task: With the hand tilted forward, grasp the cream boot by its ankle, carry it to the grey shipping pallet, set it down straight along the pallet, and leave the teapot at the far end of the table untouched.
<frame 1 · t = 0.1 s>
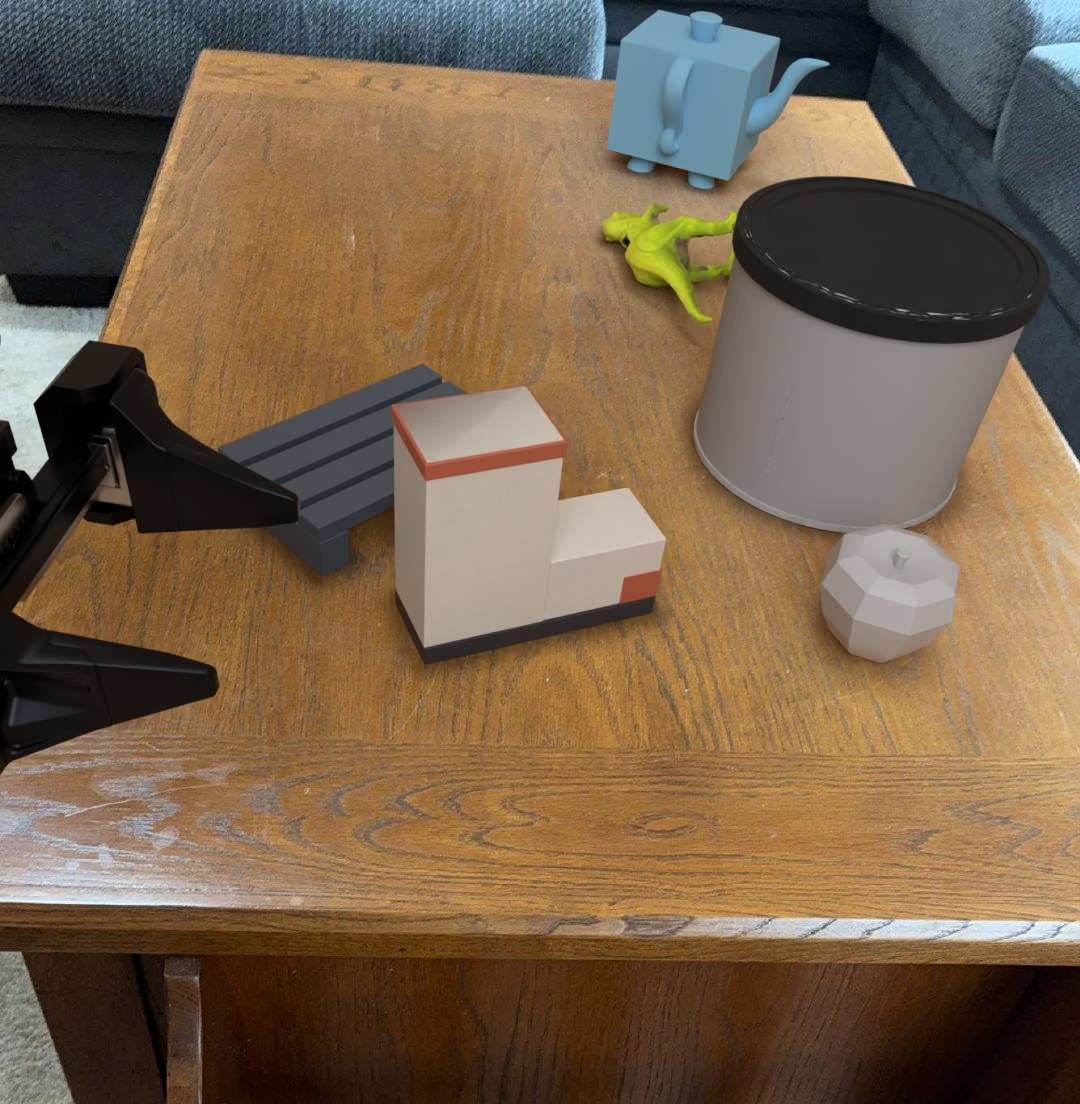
hand: (261, 588, 38), 17 cm above the table, tool horizontal, fingers open, 9 cm apart
apple: (865, 641, 65), on the table
dinosaur figurine: (660, 286, 92), on the table
teapot: (707, 173, 109), on the table
cream boot: (468, 620, 63), on the table
grey shipping pallet: (376, 485, 70), on the table
container: (822, 453, 78), on the table
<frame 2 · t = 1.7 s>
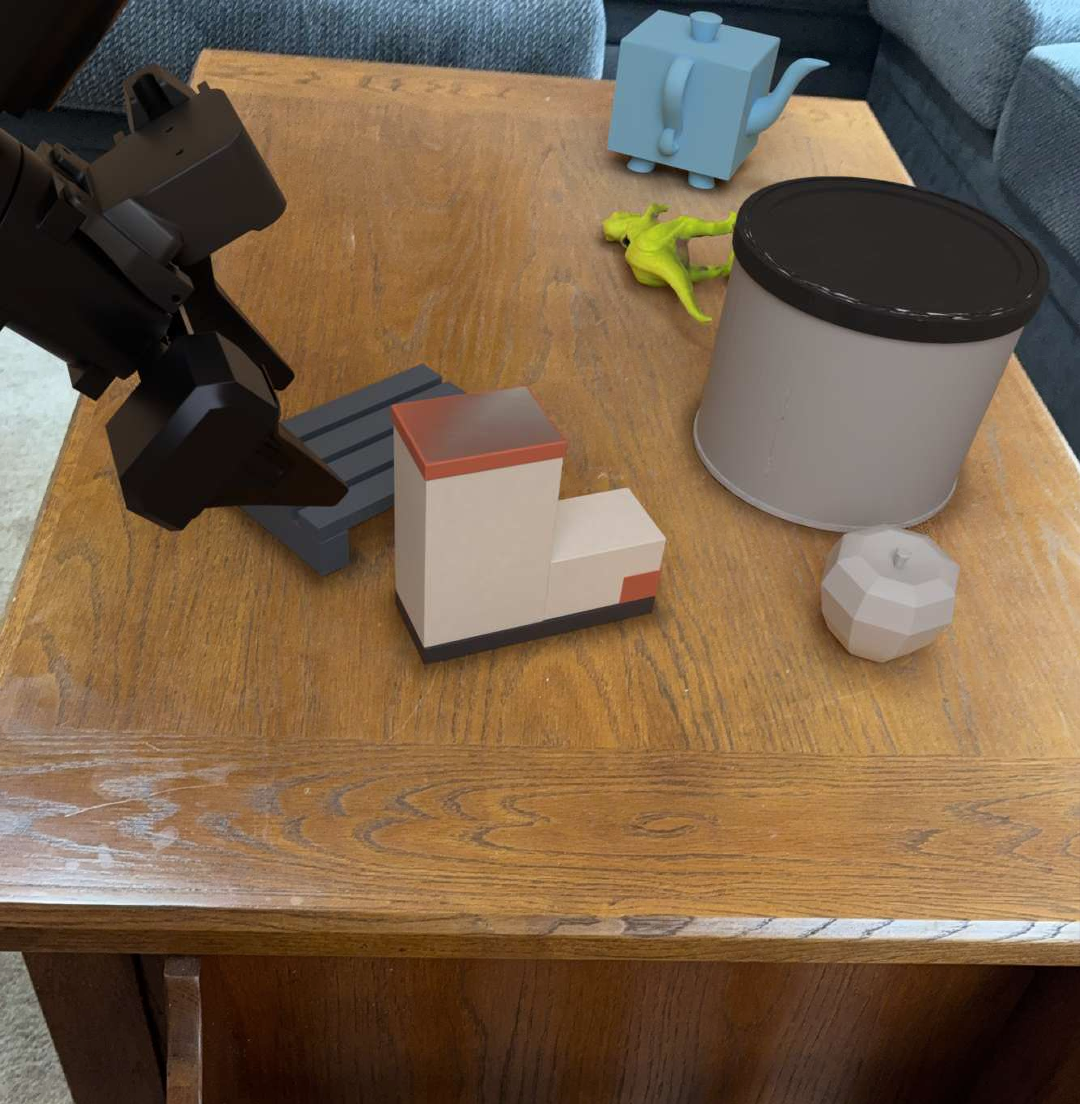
hand: (313, 436, 50), 14 cm above the table, tool tilted 45°, fingers open, 9 cm apart
nothing on the table moved.
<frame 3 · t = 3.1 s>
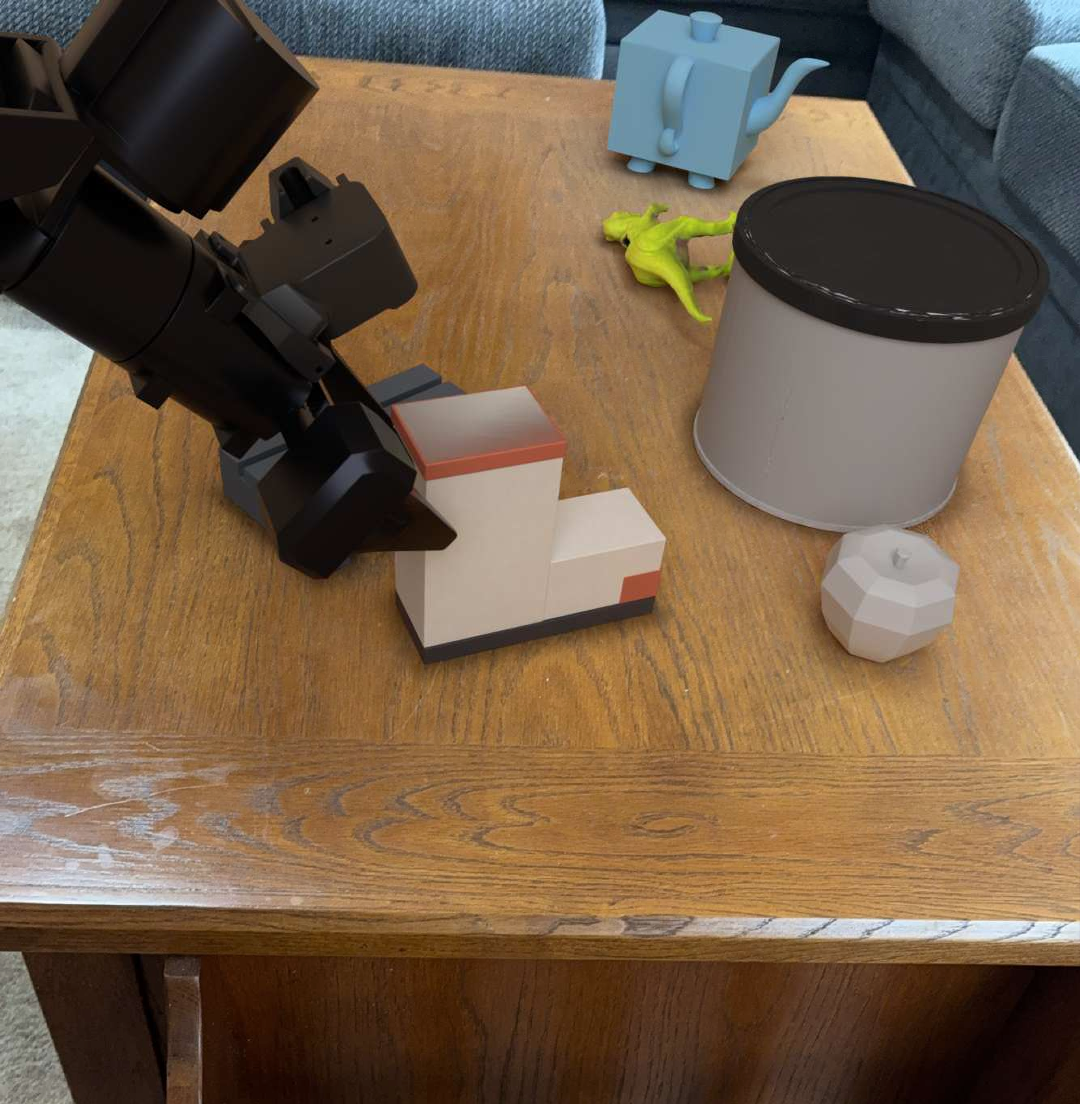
hand: (418, 484, 54), 10 cm above the table, tool tilted 45°, fingers open, 9 cm apart
nothing on the table moved.
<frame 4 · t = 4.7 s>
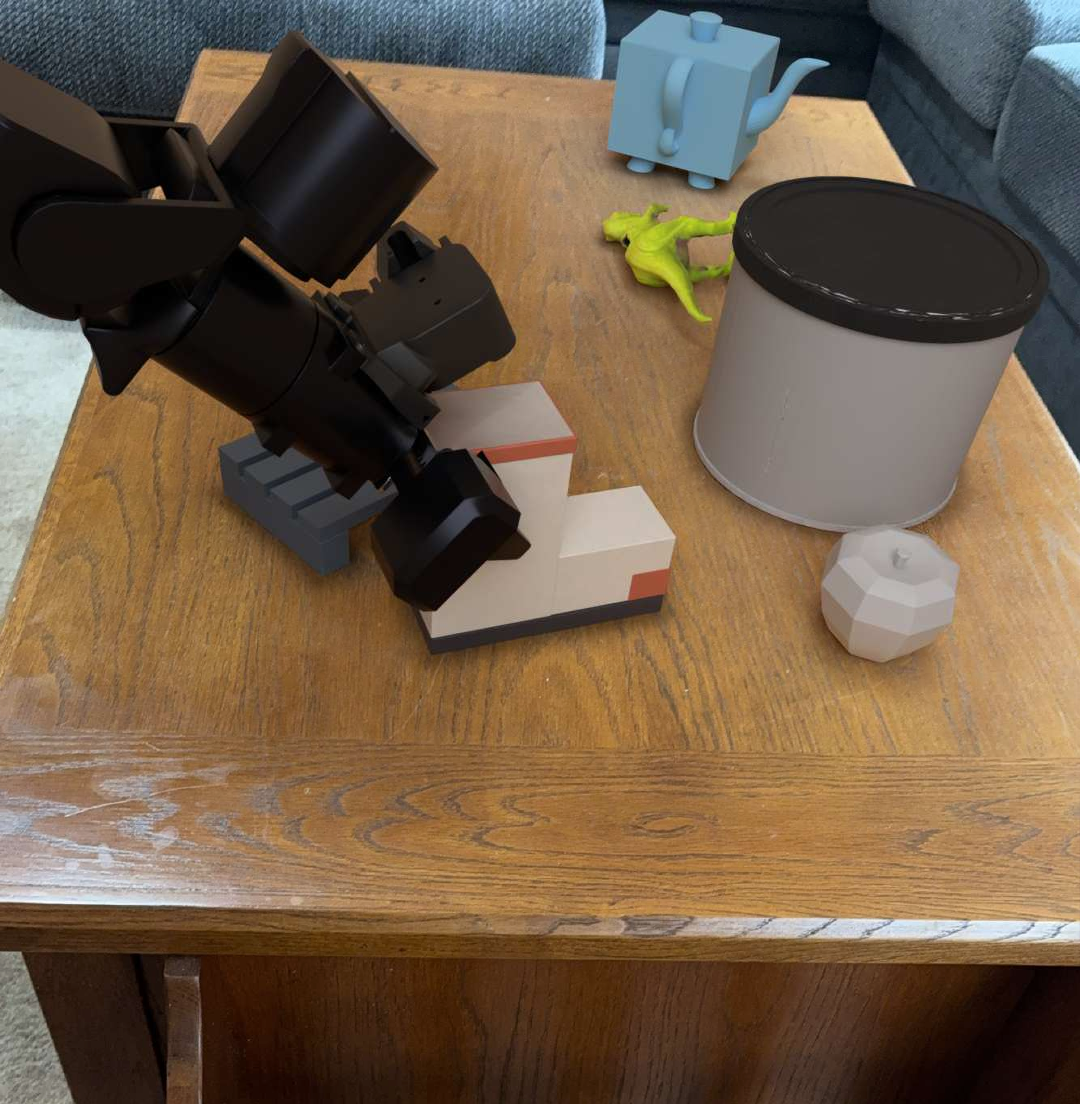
hand: (502, 515, 58), 7 cm above the table, tool tilted 45°, fingers closed on cream boot, 6 cm apart
cream boot: (477, 613, 63), on the table, touching gripper
everything else where it was.
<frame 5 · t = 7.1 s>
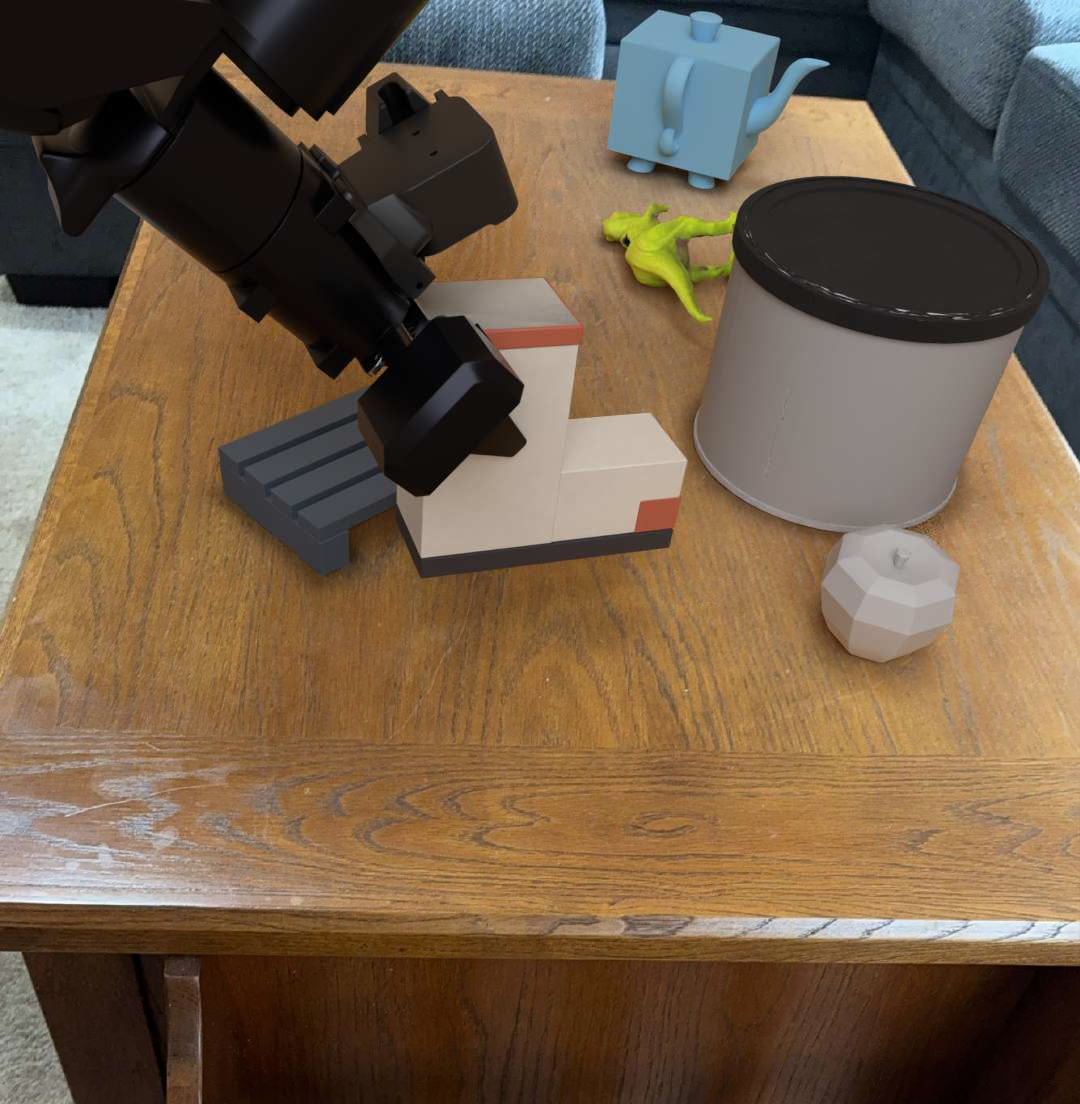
hand: (497, 417, 54), 13 cm above the table, tool tilted 45°, fingers closed on cream boot, 5 cm apart
cream boot: (471, 541, 59), point 6 cm above the table, touching gripper
everything else where it was.
when the fingers open (11 cm above the table, at t = 9.8 s): cream boot stays where it is, resting on grey shipping pallet.
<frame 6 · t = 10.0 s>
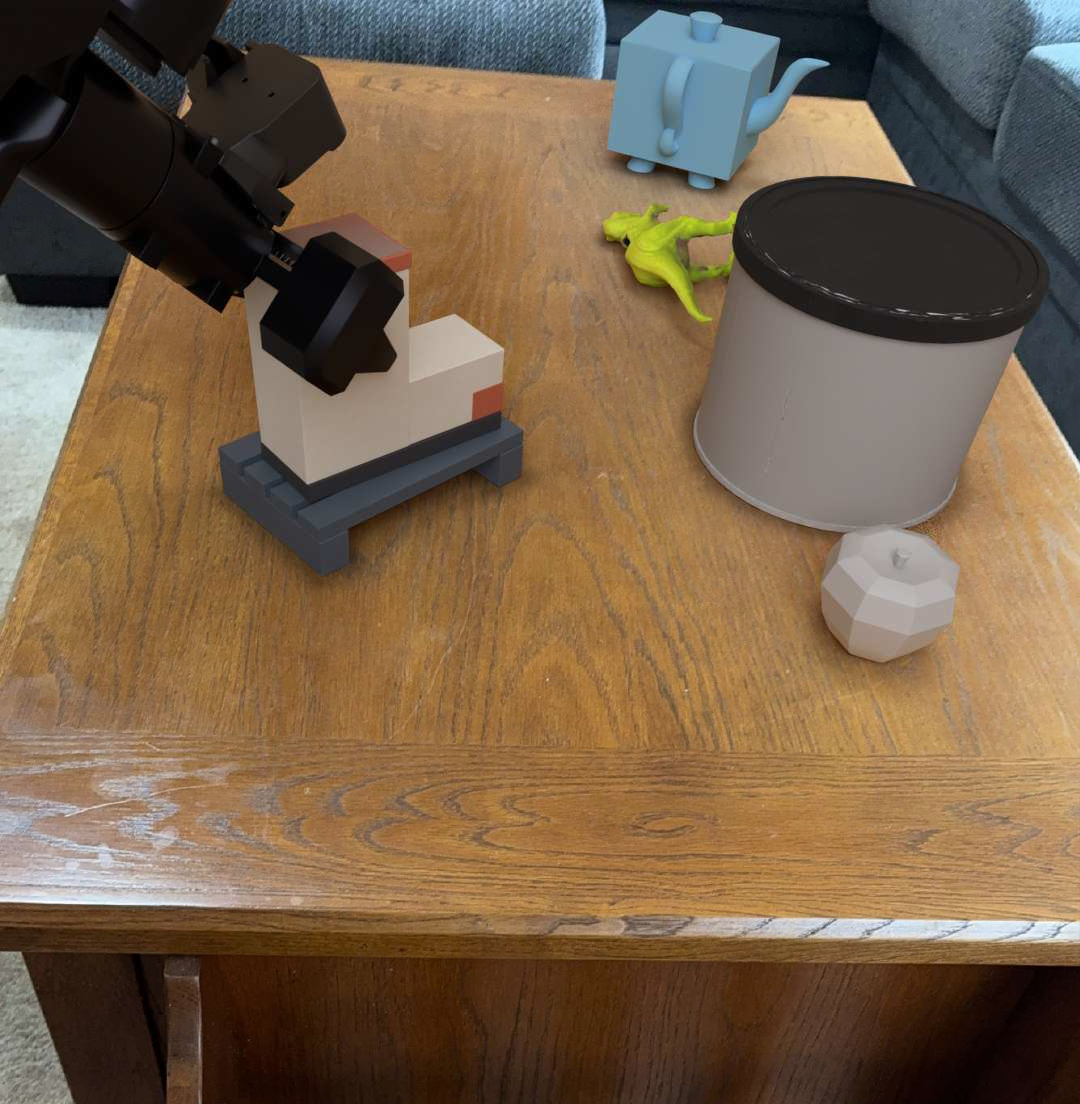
hand: (343, 330, 61), 11 cm above the table, tool tilted 45°, fingers open, 8 cm apart
cream boot: (336, 461, 66), point 3 cm above the table, touching grey shipping pallet
everything else where it was.
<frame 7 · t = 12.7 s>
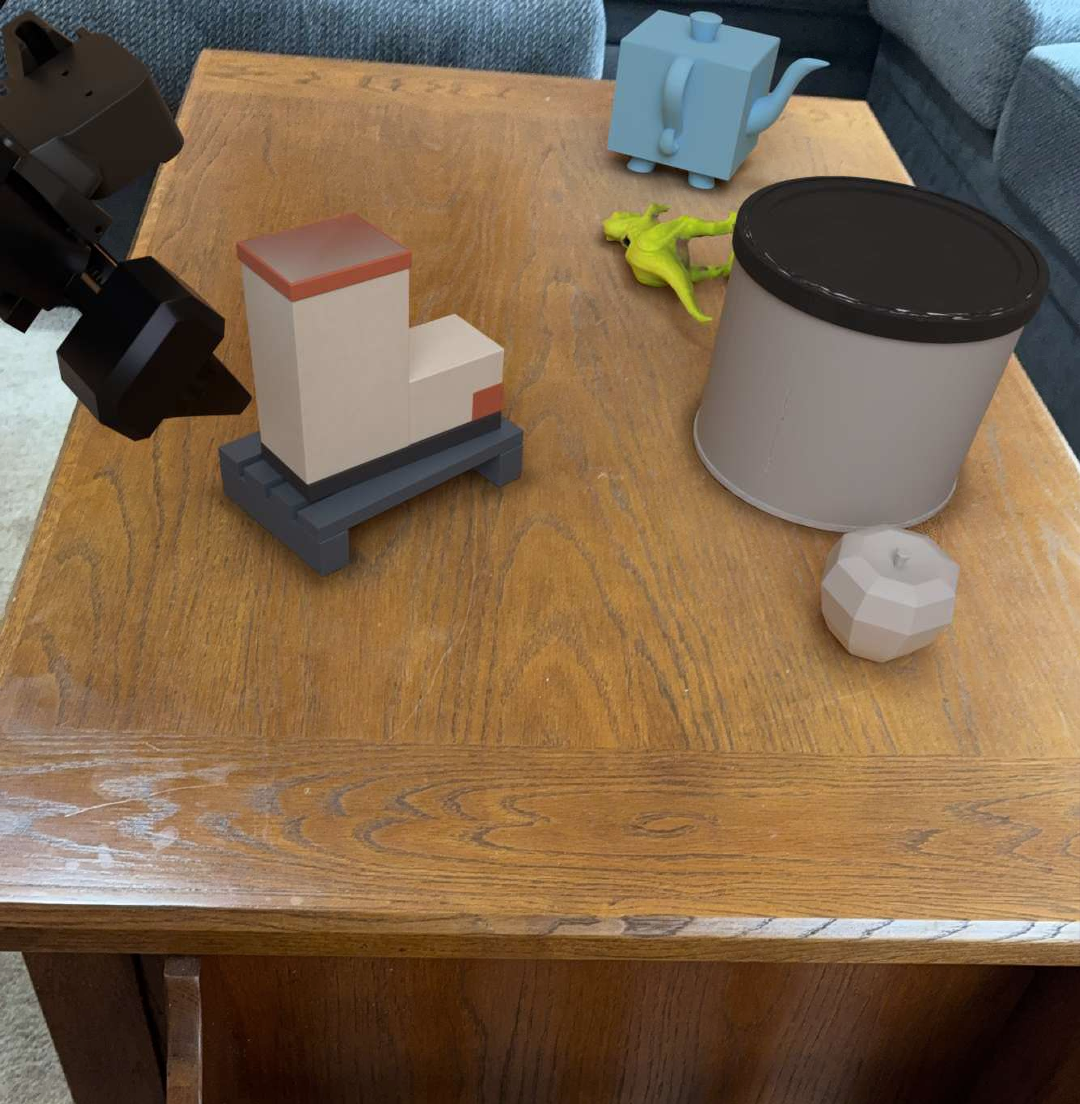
hand: (196, 356, 55), 13 cm above the table, tool tilted 45°, fingers open, 9 cm apart
nothing on the table moved.
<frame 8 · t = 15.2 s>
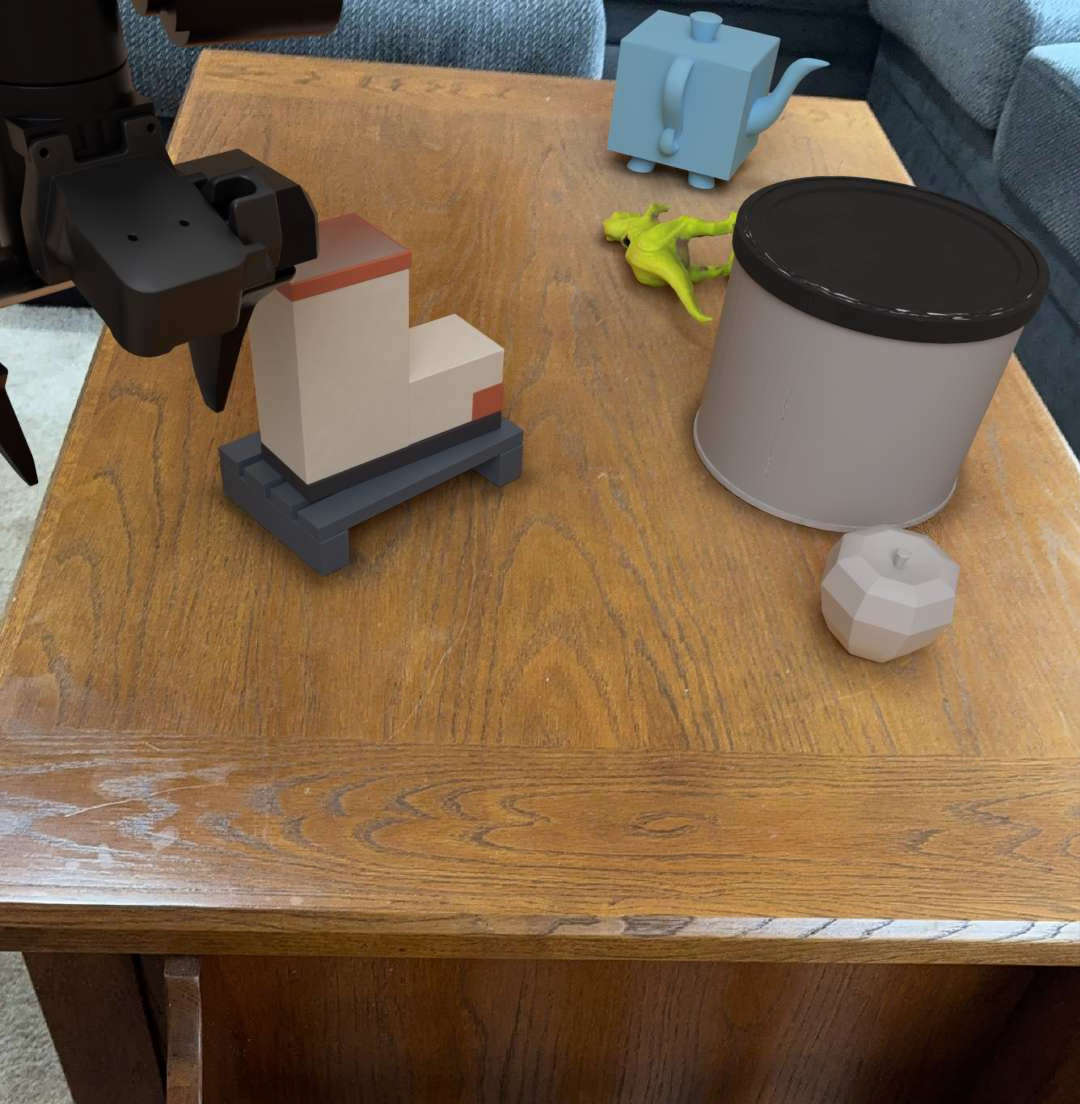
hand: (126, 443, 50), 13 cm above the table, tool pointing down, fingers open, 9 cm apart
nothing on the table moved.
at the end: cream boot 0.4 cm from the target spot on the grey shipping pallet, point 3.5 cm above the grey shipping pallet's base; cream boot tilted 0°; teapot moved 0.2 cm from its start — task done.
